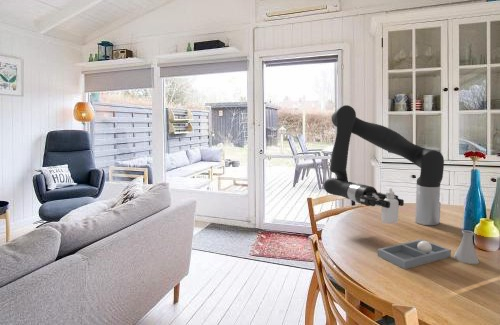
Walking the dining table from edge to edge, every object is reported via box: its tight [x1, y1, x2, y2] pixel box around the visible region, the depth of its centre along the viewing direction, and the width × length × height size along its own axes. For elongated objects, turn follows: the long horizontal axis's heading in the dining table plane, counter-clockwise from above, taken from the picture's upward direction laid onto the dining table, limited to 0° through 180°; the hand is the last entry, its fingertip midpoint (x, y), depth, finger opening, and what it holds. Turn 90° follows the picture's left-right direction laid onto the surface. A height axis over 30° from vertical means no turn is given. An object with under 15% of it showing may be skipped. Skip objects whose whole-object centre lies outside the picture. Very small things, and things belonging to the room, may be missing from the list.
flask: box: [453, 229, 480, 265], centre depth 101 cm, size 7×7×10 cm
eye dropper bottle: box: [380, 188, 400, 224], centre depth 109 cm, size 4×6×12 cm
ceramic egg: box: [417, 240, 432, 254], centre depth 106 cm, size 4×4×4 cm
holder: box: [377, 238, 452, 270], centre depth 105 cm, size 21×11×3 cm, turn 112°
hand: (396, 204), depth 107 cm, fingers closed on eye dropper bottle, 5 cm apart
